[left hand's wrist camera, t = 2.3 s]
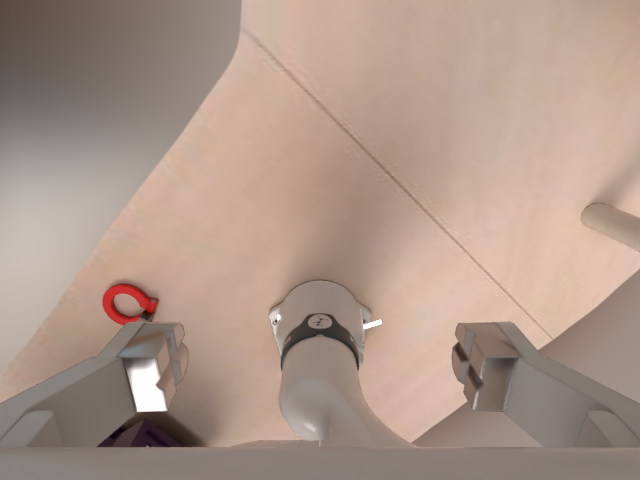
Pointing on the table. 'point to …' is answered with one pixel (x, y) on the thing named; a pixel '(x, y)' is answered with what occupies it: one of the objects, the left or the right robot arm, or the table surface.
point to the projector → (139, 437)
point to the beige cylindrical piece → (613, 224)
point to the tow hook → (138, 295)
